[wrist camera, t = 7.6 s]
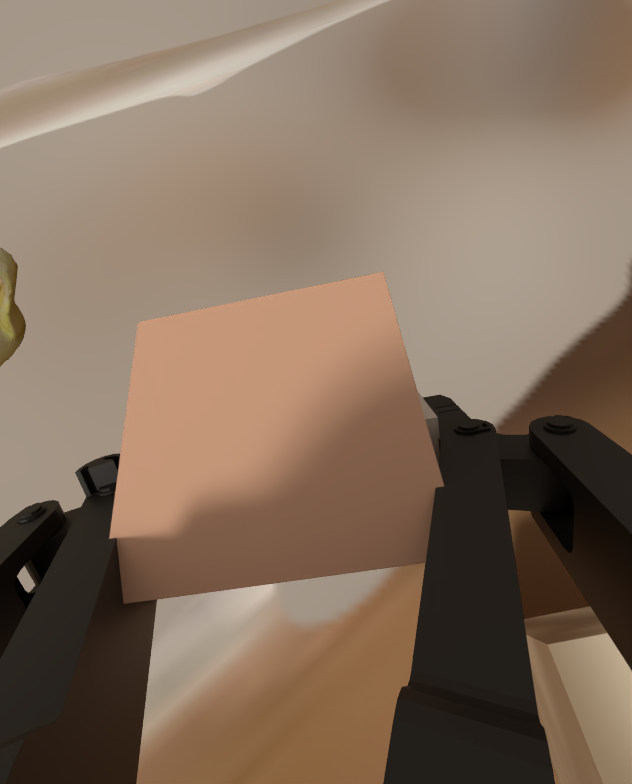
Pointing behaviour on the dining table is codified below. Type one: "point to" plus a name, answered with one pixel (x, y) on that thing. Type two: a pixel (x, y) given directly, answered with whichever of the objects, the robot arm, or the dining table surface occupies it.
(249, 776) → the dining table surface
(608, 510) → the robot arm
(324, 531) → the terracotta block
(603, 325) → the dining table surface
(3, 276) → the mug
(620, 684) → the ash block
